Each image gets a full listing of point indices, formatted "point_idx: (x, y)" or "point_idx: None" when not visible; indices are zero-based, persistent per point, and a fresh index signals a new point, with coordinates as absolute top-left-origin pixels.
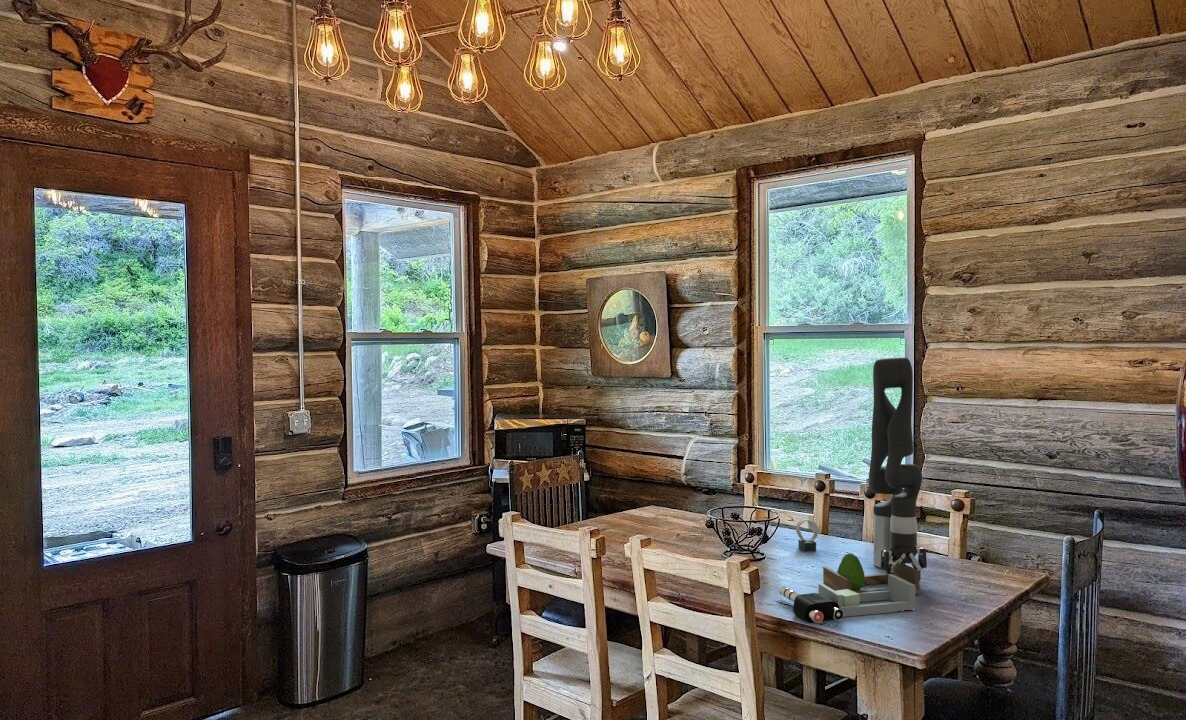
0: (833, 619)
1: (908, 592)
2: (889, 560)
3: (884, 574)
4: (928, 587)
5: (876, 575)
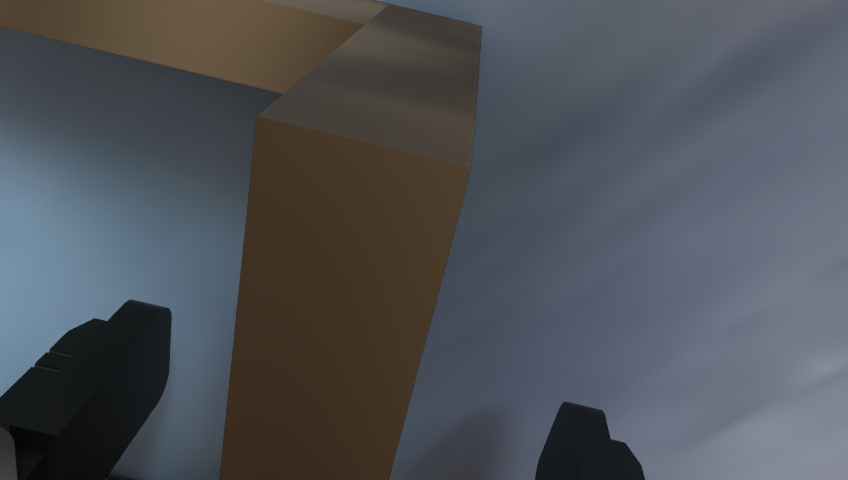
0: None
1: None
2: (256, 206)
3: (245, 43)
4: (694, 455)
5: (35, 21)
